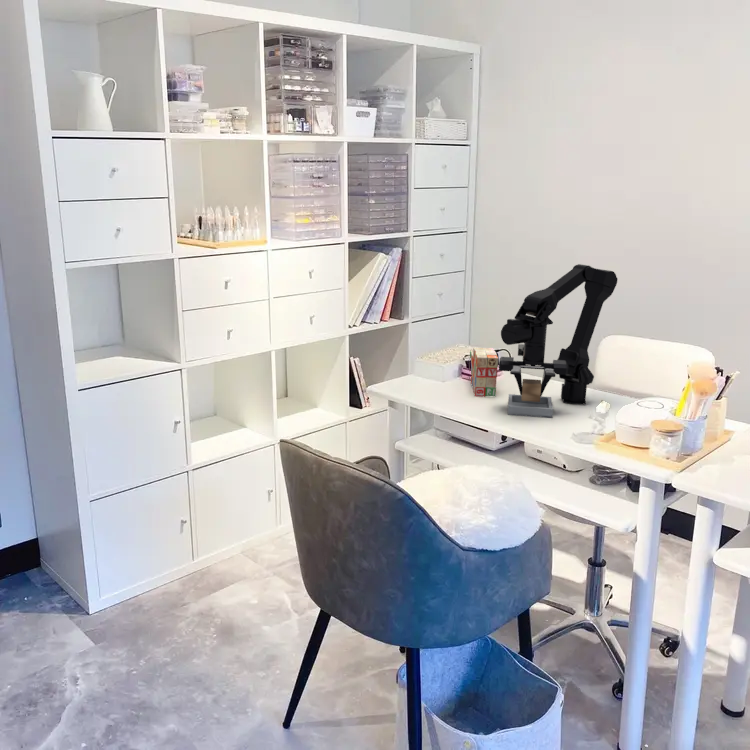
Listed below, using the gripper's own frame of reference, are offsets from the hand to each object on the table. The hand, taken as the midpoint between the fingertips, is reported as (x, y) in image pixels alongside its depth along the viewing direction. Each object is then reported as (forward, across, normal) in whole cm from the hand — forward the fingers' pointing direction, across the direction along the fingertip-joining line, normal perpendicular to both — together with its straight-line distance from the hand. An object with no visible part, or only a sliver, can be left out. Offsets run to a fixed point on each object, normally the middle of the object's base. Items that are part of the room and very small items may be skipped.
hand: (530, 395), depth 216 cm
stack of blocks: (+5, +14, -21) cm, 26 cm away
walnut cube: (+1, 0, 0) cm, 1 cm away
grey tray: (+4, 0, 0) cm, 4 cm away
